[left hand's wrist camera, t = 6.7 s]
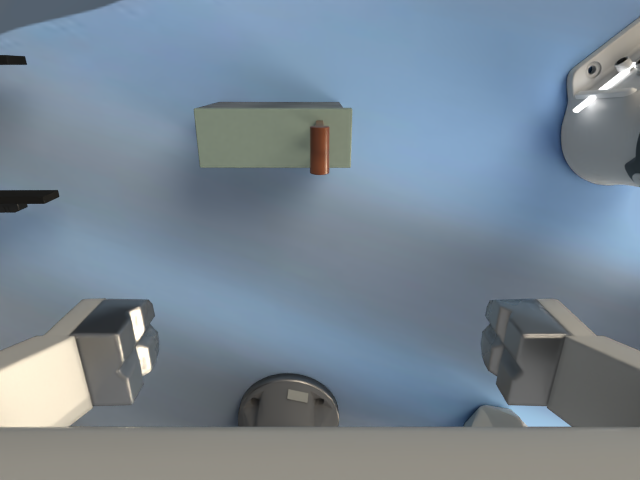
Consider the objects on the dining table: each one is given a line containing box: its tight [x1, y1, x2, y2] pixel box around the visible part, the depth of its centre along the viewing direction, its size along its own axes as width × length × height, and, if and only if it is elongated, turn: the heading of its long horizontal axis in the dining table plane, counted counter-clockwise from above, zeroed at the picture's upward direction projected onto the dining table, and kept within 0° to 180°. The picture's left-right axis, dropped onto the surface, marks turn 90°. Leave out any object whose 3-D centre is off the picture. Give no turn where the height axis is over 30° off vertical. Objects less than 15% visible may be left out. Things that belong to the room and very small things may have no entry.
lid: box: [194, 108, 352, 175], centre depth 36 cm, size 15×5×8 cm, turn 90°
